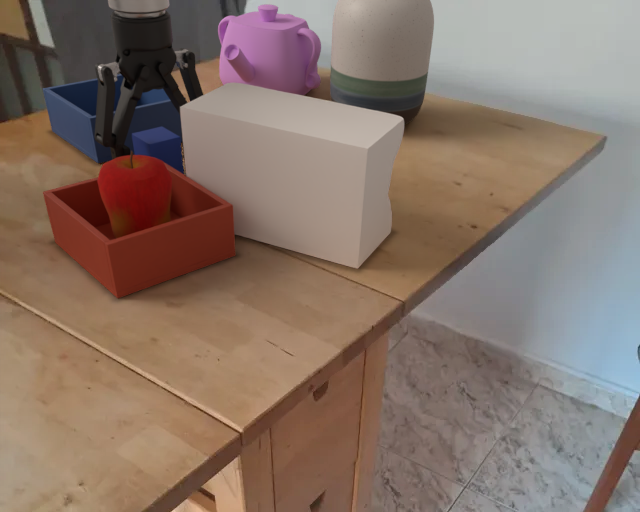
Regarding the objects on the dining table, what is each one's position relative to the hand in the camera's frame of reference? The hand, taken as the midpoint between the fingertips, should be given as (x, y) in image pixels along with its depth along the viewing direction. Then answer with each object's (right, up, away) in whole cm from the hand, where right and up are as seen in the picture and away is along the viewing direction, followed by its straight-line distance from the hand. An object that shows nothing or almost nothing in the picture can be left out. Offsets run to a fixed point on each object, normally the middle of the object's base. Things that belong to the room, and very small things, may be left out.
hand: (161, 181), depth 102 cm
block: (0, 0, 0) cm, 0 cm away
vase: (+34, +19, +23) cm, 45 cm away
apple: (+1, -13, -15) cm, 20 cm away
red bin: (+1, -14, -14) cm, 20 cm away
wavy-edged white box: (+21, -7, -6) cm, 23 cm away
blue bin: (-10, +12, +13) cm, 20 cm away
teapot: (+13, +29, +33) cm, 46 cm away
